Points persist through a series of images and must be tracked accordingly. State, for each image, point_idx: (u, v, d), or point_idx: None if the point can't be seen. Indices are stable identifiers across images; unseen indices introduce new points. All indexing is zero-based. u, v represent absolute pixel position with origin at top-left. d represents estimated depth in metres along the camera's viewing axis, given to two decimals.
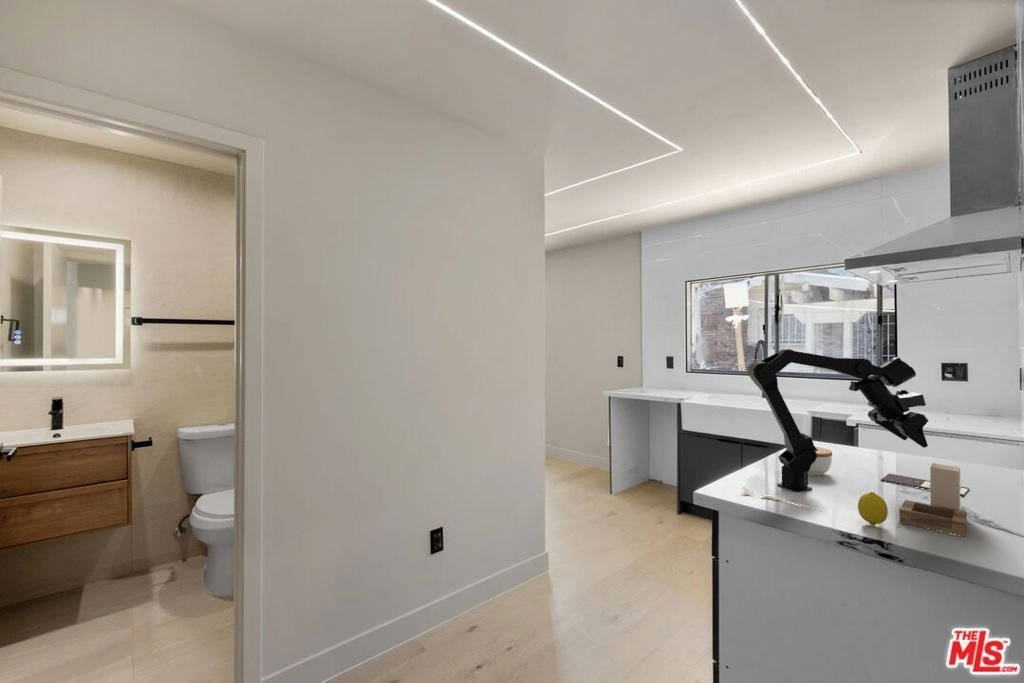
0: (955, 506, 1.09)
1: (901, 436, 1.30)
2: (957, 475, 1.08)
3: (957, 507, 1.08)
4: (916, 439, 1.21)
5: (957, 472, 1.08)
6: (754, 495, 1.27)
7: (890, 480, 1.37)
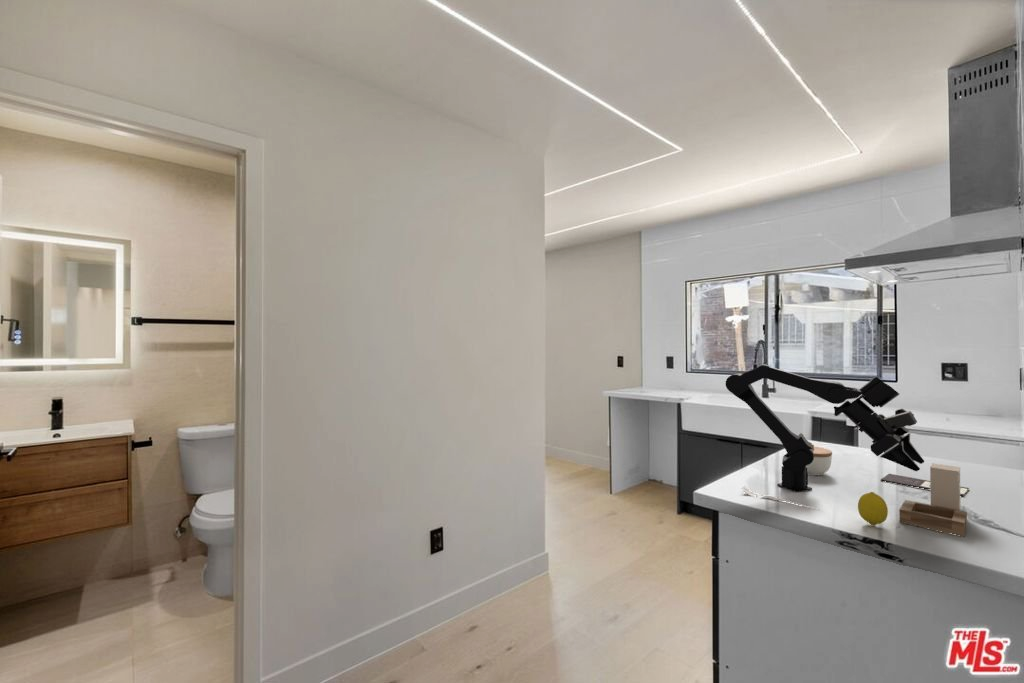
0: (955, 506, 1.09)
1: (916, 459, 1.19)
2: (957, 475, 1.08)
3: (957, 507, 1.08)
4: (902, 463, 1.13)
5: (957, 472, 1.08)
6: (754, 495, 1.27)
7: (890, 480, 1.37)
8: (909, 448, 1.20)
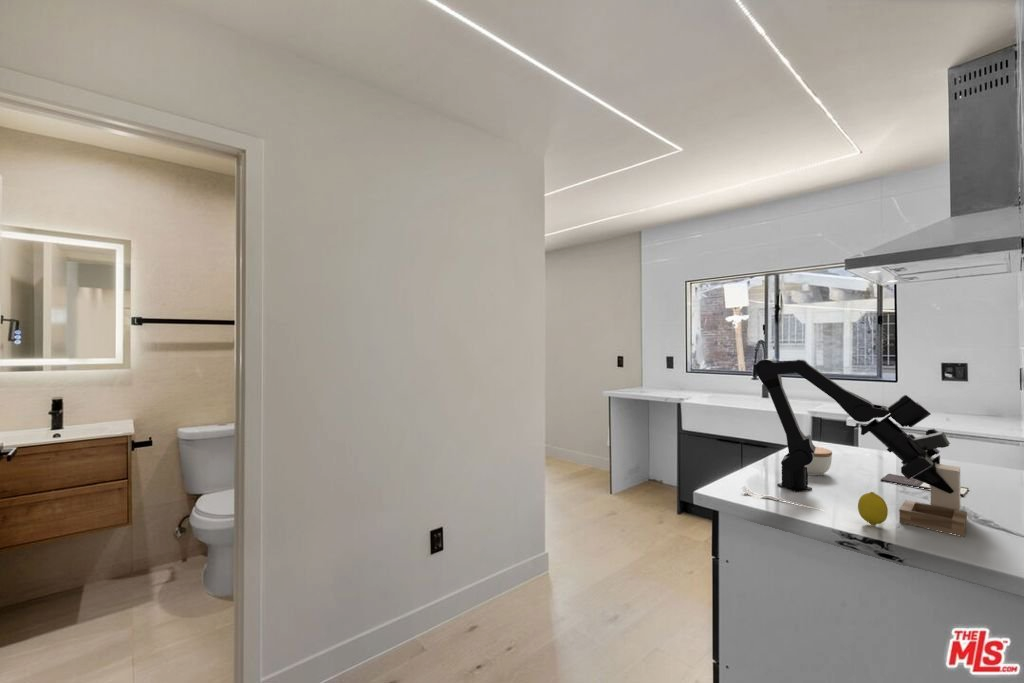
0: (955, 506, 1.09)
1: None
2: (957, 475, 1.08)
3: (957, 507, 1.08)
4: (935, 484, 1.10)
5: (957, 472, 1.08)
6: (754, 495, 1.27)
7: (890, 480, 1.37)
8: None
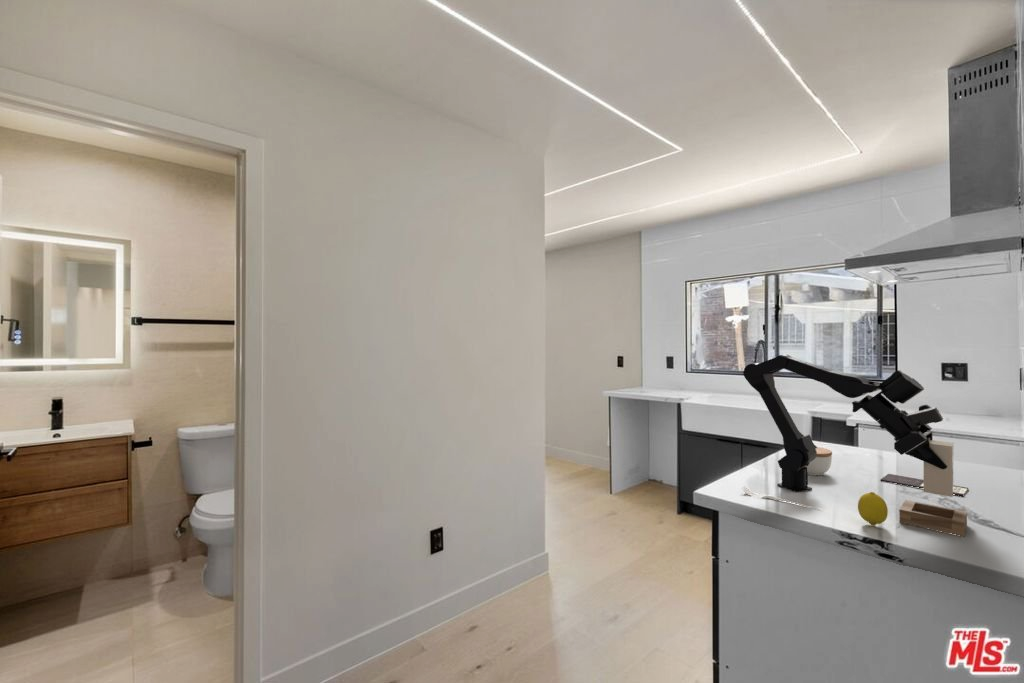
0: (948, 482, 1.06)
1: None
2: (951, 450, 1.06)
3: (950, 483, 1.06)
4: (928, 460, 1.08)
5: (951, 447, 1.06)
6: (754, 495, 1.27)
7: (890, 480, 1.37)
8: None
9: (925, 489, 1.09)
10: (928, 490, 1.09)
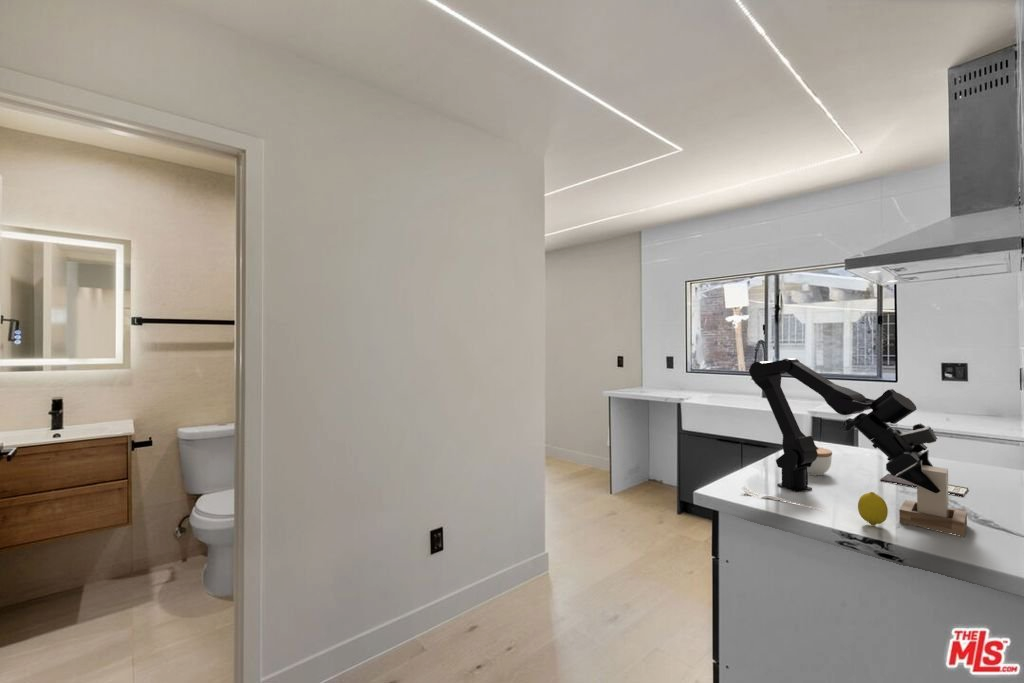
0: (942, 509, 1.04)
1: None
2: (944, 477, 1.03)
3: (944, 511, 1.03)
4: (920, 483, 1.04)
5: (944, 474, 1.03)
6: (754, 495, 1.27)
7: (890, 480, 1.37)
8: None
9: None
10: None
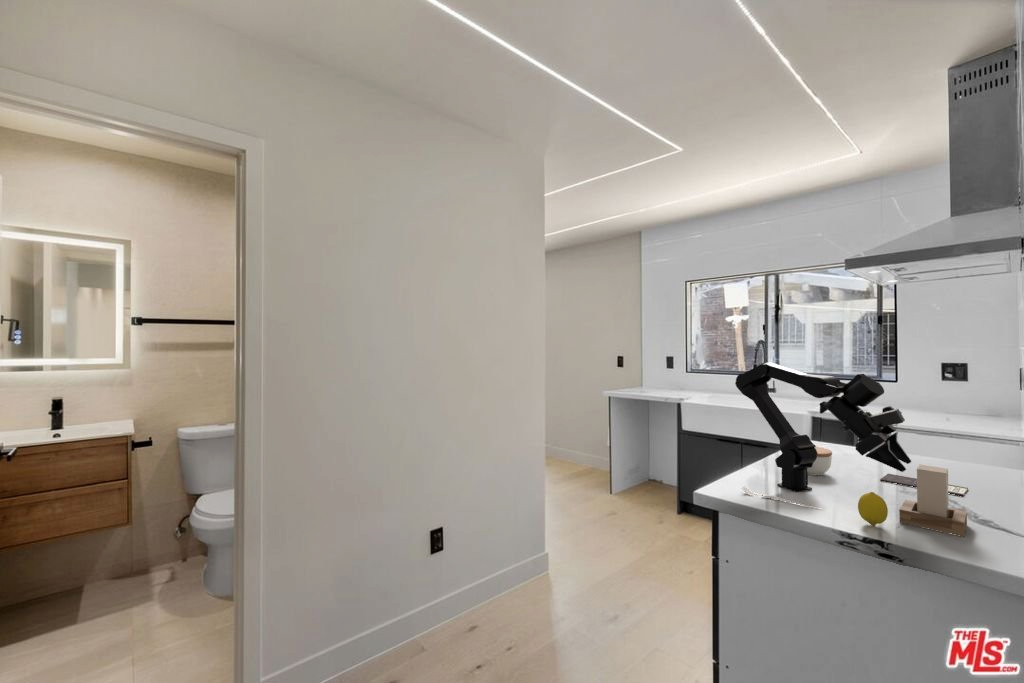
0: (942, 509, 1.04)
1: (902, 459, 1.14)
2: (944, 477, 1.03)
3: (944, 511, 1.03)
4: (888, 463, 1.08)
5: (944, 474, 1.03)
6: (754, 495, 1.27)
7: (889, 480, 1.37)
8: (895, 448, 1.15)
9: None
10: None
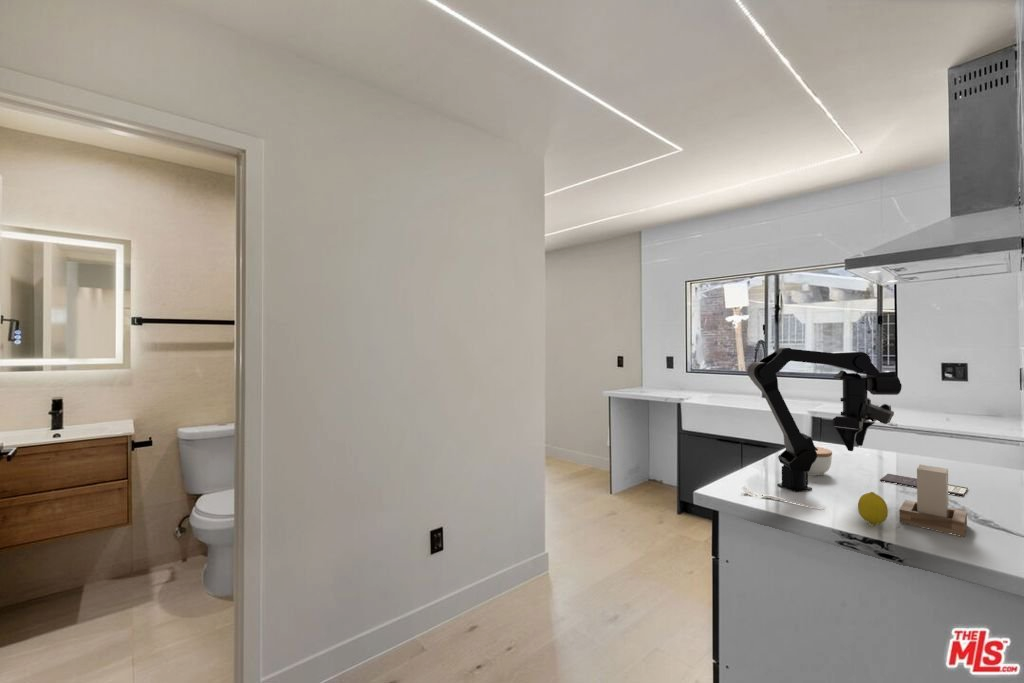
0: (942, 509, 1.04)
1: (857, 440, 1.33)
2: (944, 477, 1.03)
3: (944, 511, 1.03)
4: (845, 440, 1.27)
5: (944, 474, 1.03)
6: (754, 495, 1.28)
7: (889, 480, 1.37)
8: (861, 431, 1.32)
9: None
10: None
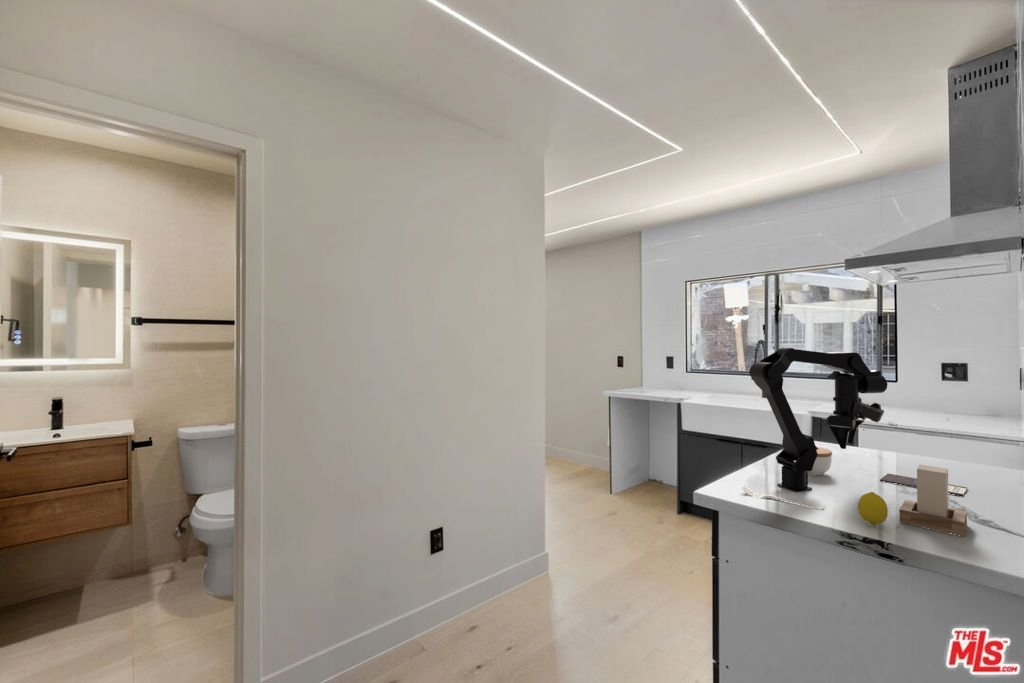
0: (942, 509, 1.04)
1: (848, 438, 1.37)
2: (944, 477, 1.03)
3: (944, 511, 1.03)
4: (838, 438, 1.31)
5: (944, 474, 1.03)
6: (754, 495, 1.28)
7: (889, 480, 1.37)
8: (852, 429, 1.37)
9: None
10: None
